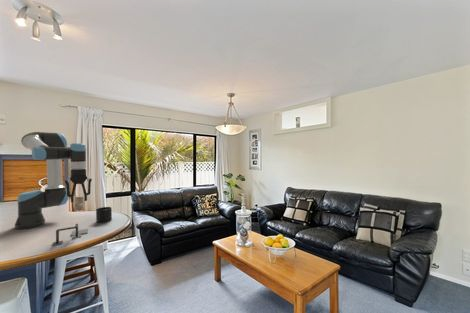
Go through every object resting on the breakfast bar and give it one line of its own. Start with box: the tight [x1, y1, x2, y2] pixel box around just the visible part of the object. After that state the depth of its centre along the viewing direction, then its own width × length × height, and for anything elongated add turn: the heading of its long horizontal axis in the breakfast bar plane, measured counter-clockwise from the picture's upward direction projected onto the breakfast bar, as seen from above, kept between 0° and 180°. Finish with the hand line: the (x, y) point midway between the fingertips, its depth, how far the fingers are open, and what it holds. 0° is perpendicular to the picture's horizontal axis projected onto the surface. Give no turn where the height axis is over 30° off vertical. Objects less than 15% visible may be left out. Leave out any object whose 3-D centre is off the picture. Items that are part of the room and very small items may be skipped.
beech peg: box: [74, 195, 85, 212], centre depth 128 cm, size 4×4×8 cm
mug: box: [95, 206, 113, 224], centre depth 151 cm, size 9×12×9 cm
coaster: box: [70, 228, 89, 237], centre depth 129 cm, size 8×8×1 cm
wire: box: [51, 223, 82, 247], centre depth 117 cm, size 10×12×8 cm
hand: (79, 206), depth 128 cm, fingers closed on beech peg, 4 cm apart
